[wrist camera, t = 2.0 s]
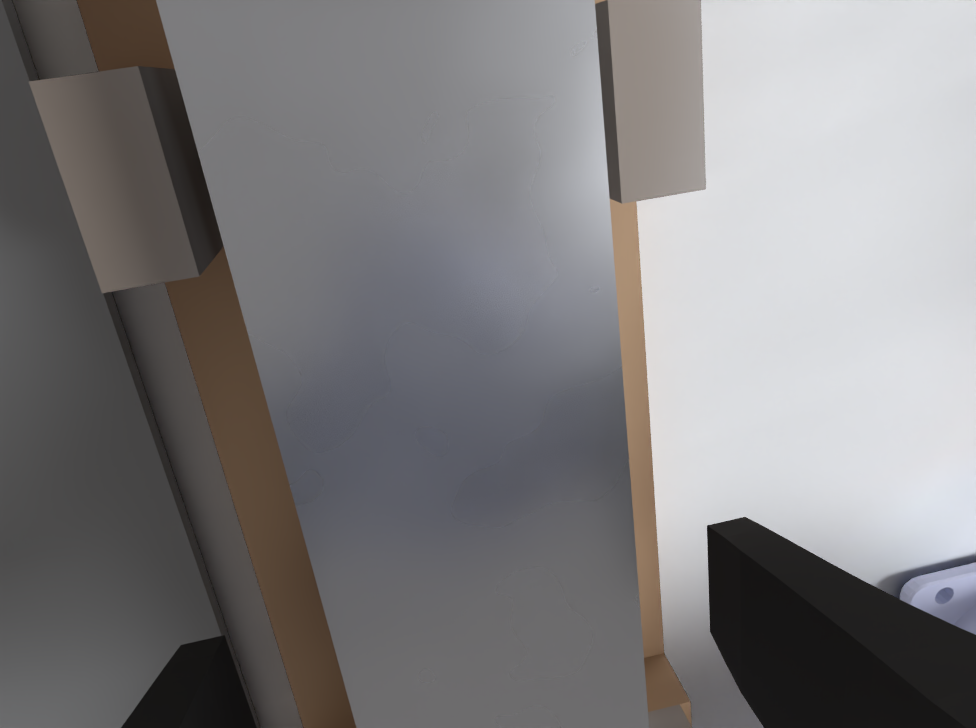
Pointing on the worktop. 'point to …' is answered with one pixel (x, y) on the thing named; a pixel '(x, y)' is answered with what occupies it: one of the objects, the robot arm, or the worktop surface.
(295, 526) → the rail stand
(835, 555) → the worktop surface
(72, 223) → the mat
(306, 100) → the rail
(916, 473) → the worktop surface
